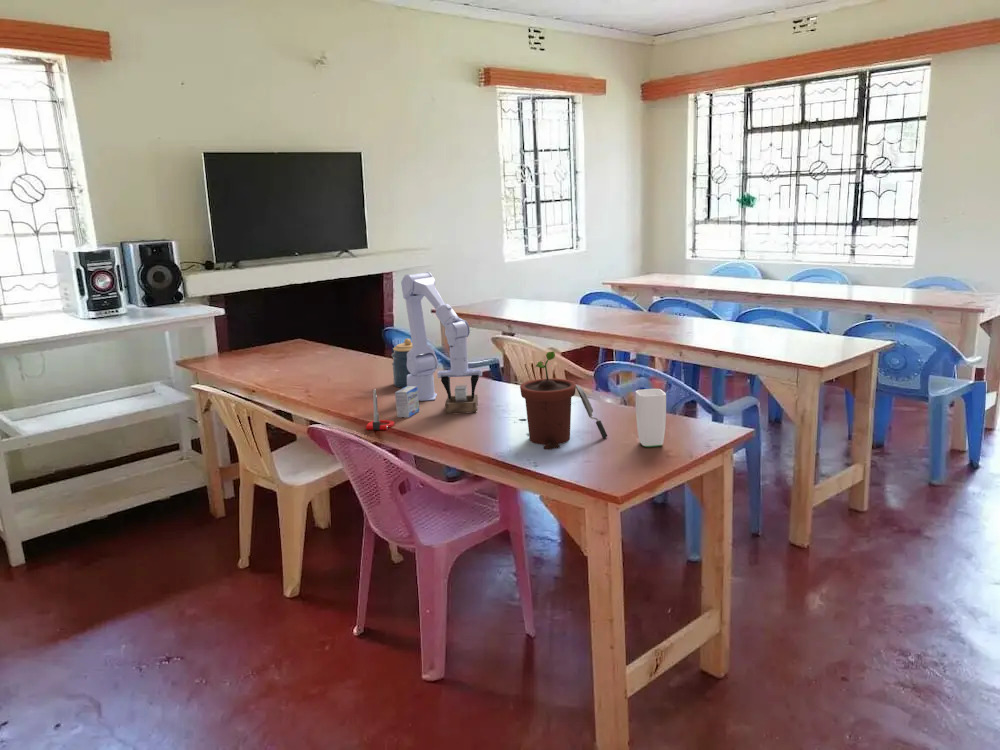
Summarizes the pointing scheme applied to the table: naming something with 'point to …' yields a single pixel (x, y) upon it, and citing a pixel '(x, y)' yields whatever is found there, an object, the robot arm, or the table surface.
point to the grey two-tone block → (461, 393)
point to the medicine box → (407, 401)
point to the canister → (401, 363)
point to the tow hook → (377, 423)
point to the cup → (651, 416)
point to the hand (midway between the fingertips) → (461, 397)
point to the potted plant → (552, 408)
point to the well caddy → (461, 405)
